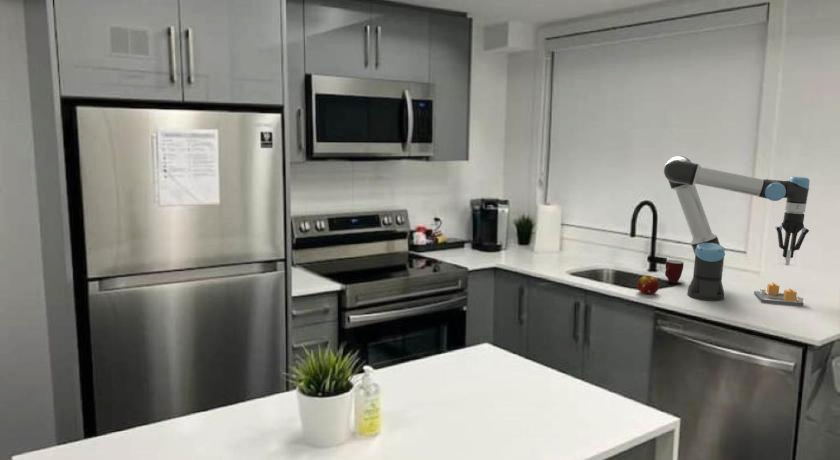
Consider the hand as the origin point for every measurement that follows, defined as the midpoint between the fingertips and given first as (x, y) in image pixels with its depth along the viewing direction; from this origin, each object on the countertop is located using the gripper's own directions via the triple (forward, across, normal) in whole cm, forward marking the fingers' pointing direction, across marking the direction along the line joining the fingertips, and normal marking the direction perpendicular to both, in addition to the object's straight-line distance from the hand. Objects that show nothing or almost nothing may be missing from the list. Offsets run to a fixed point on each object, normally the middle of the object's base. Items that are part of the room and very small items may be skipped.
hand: (786, 264), depth 269 cm
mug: (+17, -44, +13) cm, 49 cm away
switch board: (+16, -2, -5) cm, 16 cm away
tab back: (+14, -4, 0) cm, 14 cm away
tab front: (+14, +1, -9) cm, 17 cm away
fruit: (+17, -57, -13) cm, 61 cm away
